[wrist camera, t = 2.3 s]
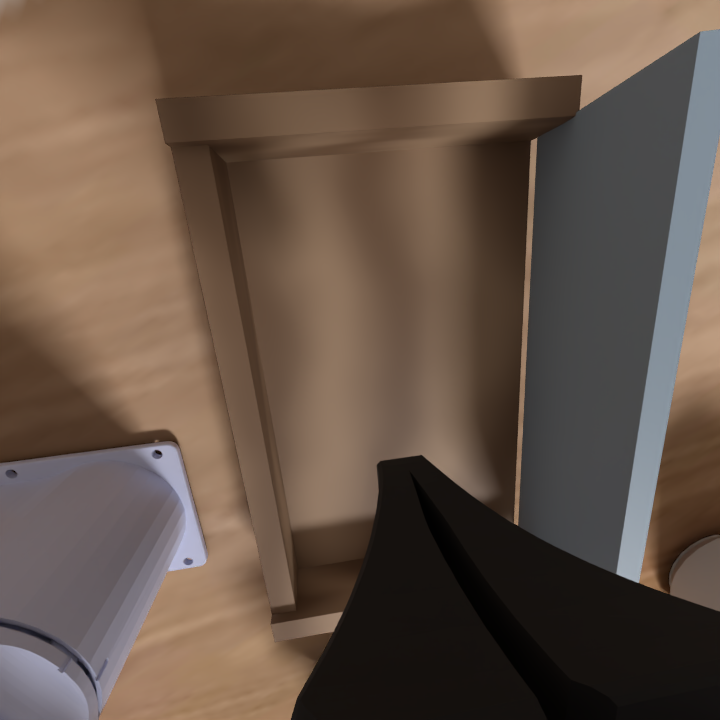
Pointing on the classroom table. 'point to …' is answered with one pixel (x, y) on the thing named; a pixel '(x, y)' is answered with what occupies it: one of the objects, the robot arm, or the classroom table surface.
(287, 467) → the tray
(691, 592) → the can
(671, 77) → the panel
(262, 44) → the classroom table surface
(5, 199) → the classroom table surface
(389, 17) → the classroom table surface
